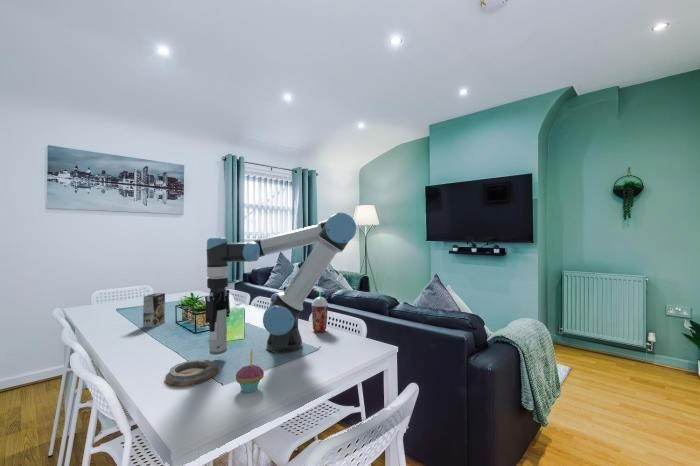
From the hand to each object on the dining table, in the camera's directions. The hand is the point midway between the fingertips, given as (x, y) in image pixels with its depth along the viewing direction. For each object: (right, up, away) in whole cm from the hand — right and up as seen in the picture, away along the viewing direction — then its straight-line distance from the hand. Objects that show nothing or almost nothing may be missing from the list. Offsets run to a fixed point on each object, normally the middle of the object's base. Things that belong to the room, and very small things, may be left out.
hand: (218, 336), depth 124 cm
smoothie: (+36, -10, +37) cm, 53 cm away
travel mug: (0, -6, 0) cm, 6 cm away
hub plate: (-4, -9, -14) cm, 17 cm away
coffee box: (-53, -9, +45) cm, 70 cm away
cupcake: (+19, -9, -23) cm, 32 cm away
